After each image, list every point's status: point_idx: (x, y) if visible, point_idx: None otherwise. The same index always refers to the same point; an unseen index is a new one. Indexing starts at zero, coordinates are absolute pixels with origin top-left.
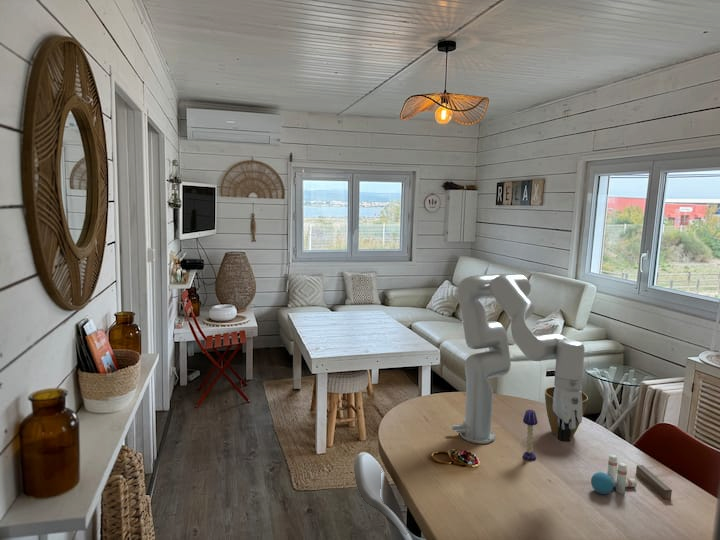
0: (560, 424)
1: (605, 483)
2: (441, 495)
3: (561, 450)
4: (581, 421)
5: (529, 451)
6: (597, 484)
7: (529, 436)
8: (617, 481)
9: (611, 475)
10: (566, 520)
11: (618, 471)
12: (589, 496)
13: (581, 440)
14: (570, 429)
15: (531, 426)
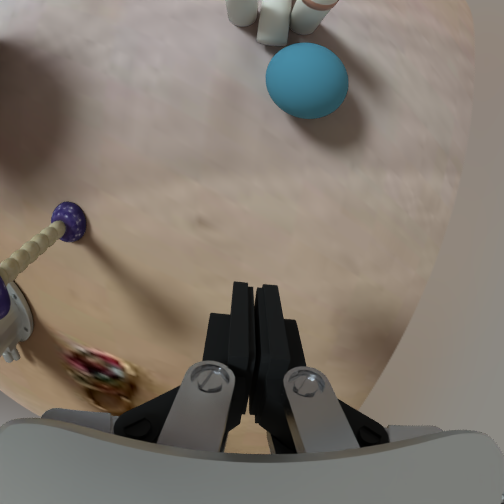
0: (226, 434)
1: (345, 91)
2: (243, 436)
3: (36, 94)
4: (498, 448)
5: (62, 234)
6: (327, 113)
7: (30, 261)
8: (309, 22)
9: (253, 10)
10: (390, 278)
11: (322, 8)
12: (315, 141)
13: (11, 22)
14: (321, 386)
15: (5, 280)
